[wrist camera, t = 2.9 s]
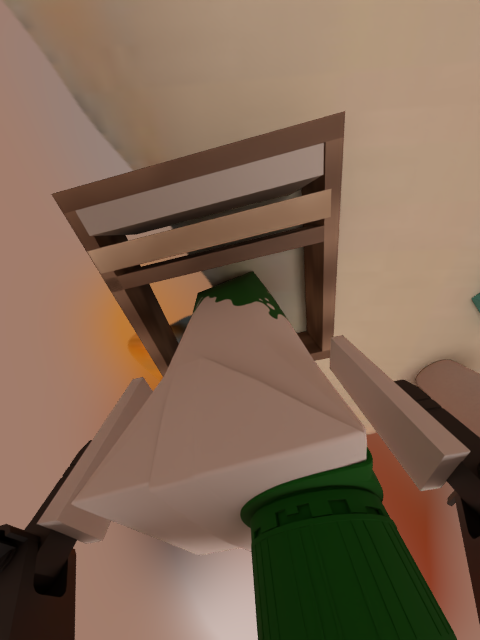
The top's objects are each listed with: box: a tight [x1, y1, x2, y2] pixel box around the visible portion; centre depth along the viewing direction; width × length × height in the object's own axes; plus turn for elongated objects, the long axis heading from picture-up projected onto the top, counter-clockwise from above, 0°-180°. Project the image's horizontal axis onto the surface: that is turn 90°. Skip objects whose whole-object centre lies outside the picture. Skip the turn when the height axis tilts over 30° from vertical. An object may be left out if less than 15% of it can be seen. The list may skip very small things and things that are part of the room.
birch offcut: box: [87, 189, 331, 274], centre depth 14 cm, size 2×16×8 cm, turn 103°
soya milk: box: [71, 271, 457, 640], centre depth 13 cm, size 9×9×20 cm
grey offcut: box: [76, 143, 324, 236], centre depth 14 cm, size 2×16×6 cm, turn 103°
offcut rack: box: [52, 111, 345, 377], centre depth 18 cm, size 21×20×4 cm
